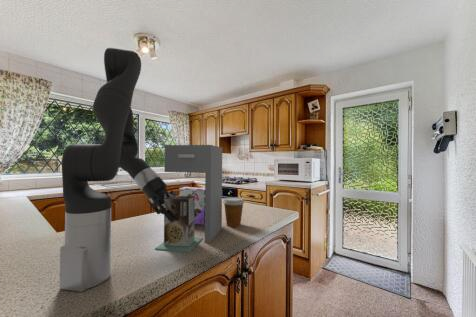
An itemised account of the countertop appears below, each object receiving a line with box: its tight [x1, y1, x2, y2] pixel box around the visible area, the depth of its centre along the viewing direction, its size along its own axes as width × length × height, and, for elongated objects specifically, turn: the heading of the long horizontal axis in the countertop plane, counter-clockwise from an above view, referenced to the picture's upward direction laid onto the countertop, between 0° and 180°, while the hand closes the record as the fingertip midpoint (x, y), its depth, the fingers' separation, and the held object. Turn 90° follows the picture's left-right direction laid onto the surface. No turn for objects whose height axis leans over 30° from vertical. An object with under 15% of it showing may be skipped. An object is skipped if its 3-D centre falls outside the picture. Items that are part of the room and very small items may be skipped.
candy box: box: [178, 186, 205, 226], centre depth 100 cm, size 14×6×16 cm, turn 73°
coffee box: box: [163, 195, 195, 247], centre depth 74 cm, size 9×6×16 cm
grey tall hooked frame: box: [164, 144, 223, 244], centre depth 84 cm, size 17×18×35 cm
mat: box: [154, 236, 203, 253], centre depth 74 cm, size 12×12×1 cm
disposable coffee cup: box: [222, 196, 245, 228], centre depth 96 cm, size 10×10×12 cm
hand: (179, 216), depth 74 cm, fingers open, 8 cm apart
